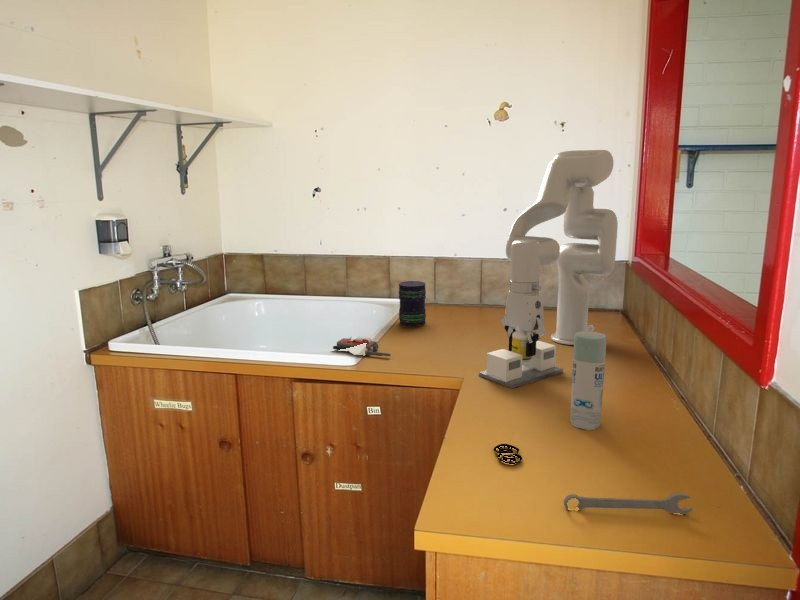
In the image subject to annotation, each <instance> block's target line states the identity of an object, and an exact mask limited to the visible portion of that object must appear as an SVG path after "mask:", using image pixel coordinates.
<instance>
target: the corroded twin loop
mask: <svg viewBox="0 0 800 600" xmlns="http://www.w3.org/2000/svg"><path fill="white" fill-rule="evenodd" d="M500 446H504V448H502V447H500ZM505 446H507V447H508V448H505ZM499 447H500V448H502V449H500V448H499ZM510 447H511V450H509V448H510ZM496 448H498V449H499V451H500V452H497V451H496ZM512 448H514V449H516V450H517V451H515V452H514V450H512ZM501 450H508V451H501ZM493 451H494V452H495V451H496V452H497V453H500V454H499V455H497V456H496V458H497V459H498V460H499V458H498V457H500V455H502V454H501V453H513V455H515V456H517V457H518V458H520V460H518V461H517V459H518V458H515V456H513V455H511V456H513V457H514V458H505V457H504V456H508V457H511V456H510V455H504V456H502V458H503V460H505V461H507V459H510V461H508V462H505V461H503V460H502V458H501V459H500V460H501V461H503V462H505V463H509V462H511V463H509V464H515V463H518V462H519V463H521V461H522V460H523V456H522V455H520V454H518V452H520V449H519V447H516V446H514V445H513V444H509V443H501V444H497V445H495V446H494V448H493ZM516 453H517V454H516ZM511 460H513V461H516V462H515V463H513V462H512V461H511ZM519 463H518V464H519Z"/></svg>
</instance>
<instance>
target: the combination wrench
mask: <svg viewBox="0 0 800 600" xmlns="http://www.w3.org/2000/svg"><path fill="white" fill-rule="evenodd" d="M690 498H691V496H690V495H688V494H686V493H680V492H676V493H673V494H670V495H669V496H668V497H667V498H664V499H645V498H644V499H643V498H641V499H640V498H619V497H618V498H616V497H615V498H613V497H611V498H610V497H586V496H579V495H577V494H575V493H571V494H568V495H566V496H565V498H564V499H563V506H564V507H565V509H566V510H567V509H568V507H569V506H568V502H569V501H571V499H573V500H574V499H576V500H577V501H578V504H577V506H576V507H578V508H579V509H580V510H582V509H583V510H584V509H586V508H587V509H590V508H591V509H592V508H594V509H595V508H596V509H598V508H601V509H637V510H638V509H639V510H642V509H644V510H664V511H665V512H669V513H670V514H672V513H680V514H686V515H688V514H689V513H691V512H692V511H693V510H694V508H693V507H683V508H681V507H679V502H680V501H684V500H687V499H690Z"/></svg>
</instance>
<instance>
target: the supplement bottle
mask: <svg viewBox="0 0 800 600" xmlns="http://www.w3.org/2000/svg"><path fill="white" fill-rule="evenodd" d="M515 330H516V331H515V332H513V334H512V351H511V352H514V353H517V354H520V355H522V362H529V361H531V360H532V356H531V357H526V343H527V342H528V337H527V333H526V331H523V330H521V329H519V327H518V326H517V327H516V328H515ZM532 336H533V334H532Z"/></svg>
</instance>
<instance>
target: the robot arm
mask: <svg viewBox="0 0 800 600" xmlns="http://www.w3.org/2000/svg"><path fill="white" fill-rule="evenodd" d="M613 157H614V156H613V155H612V153H611V152H610V151H609V150H607V149H590V150H589V149H588V150H586V149H585V150H583V149H581V150H565V151H561V152H558V153H557V154H555V155H554V158H553V159H552V160H550V162H549V163H548V165H547V167H546V171H545V174H544V177H543V180H542V183H541V185H540V189H539V191H538V196H537V199H536V201H535V202H534V203H532V205H530V206H529V207H527V208H526V209H525V210H524V211H523V212H522V213H521V214H520V215H519V216H518V217H517V218H516V219H515V220H514V222H513V223H512V225H511V228H510V232H509V234H508V238H507V242H506V245H505V255H506V257H507V259H508V260H509V261H510V271H509V272H510V273H509V274H510V275H509V278H510V279H509V290H508V292H507V297H506V301H505V310H504V316H503V318H502V319H501V320H500V323H501V324H502V327H503V328H504V330H505V332H506V337H508V351H511V352H512V334H513V332H515V331H516V330H515V328H516V327H517V326H518V327H519V329H521V330H523V331H526V333H527V337H528V342H527V343H526V357H531V356H534V355H536V341H540V339H541V338H542V337H543V336H545V335H546V334H547V328H546V327H545V326H544V323H545V322H544V321H545V320H544V319H545V318H544V317H545V315H544V301H543V297H542V293H541V290H542V286H541V285H540V271H541V267H542V266H545V267H547V266H551V265H553V264H554V263H556V264H557V265H556V266H557V276H558V277H557V278H558V287H557V289H558V290H557V307H556V309H557V310H556V328H555V332H553V333H551V335H550V340H552V341H553V342H556V343H557V344H562V345H566V346H568V345H569V346H574V336H575V334H576V333H577V332H582V331H592V332H594V330H595V326H594V325H593V324H590V325H588V318H589V317H588V316H589V301H590V300H589V299H590V298H589V297H590V286H589V283H588V281H587V279H586V277H585V276H584V275H588V276H590V275H591V276H598V277H599V276H600V277H601V276H602V277H604V276H609V275H611V274H612V272H613V271H614V268H615V263H616V254H617V253H616V252H617V238H618V223H619V222H618V217H617V214H616V213H615V212H614V210H611V209H609V208H608V209H607V208H594V201H595V200H594V199H595V198H594V197H595V194H594V193H595V192H594V189H593V187H596V186H598V185H600V184H601V183H602V182H604V181H606V180H607V179H609V177H610V176H611V175H612V172H613V168H614V158H613ZM562 215H563V232H564V235H565V236H566V237H567V238H570V239H575V240H576V239H577V240H589V241H597V242H598V244H593V243H582V242H581V243H580V242H579V243H578V242H577V243H576V242H569V243H564V244H562V245H560V244H559V242H558V241H557V240H556V239H554V238H552V237H547V236H546V237H544V236H542V237H541V236H529V235H528V236H527V234H528V232H529V231H531V230H532V229H533V228H534V227H536V226H538V225H540V224H542V223H545V222H548V221H550V220H553V219H556V218H558V217H560V216H562ZM532 335H533V336H532Z"/></svg>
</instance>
